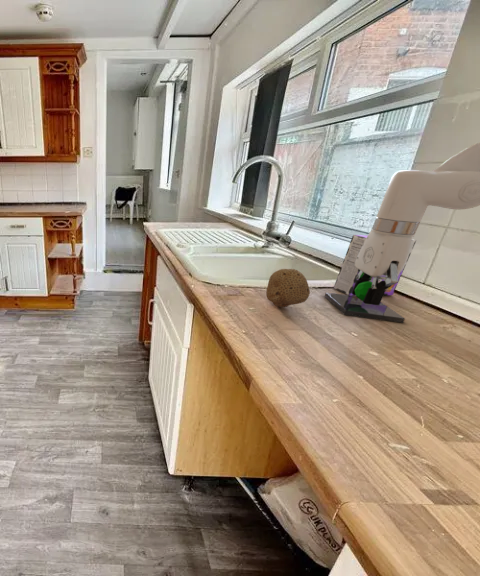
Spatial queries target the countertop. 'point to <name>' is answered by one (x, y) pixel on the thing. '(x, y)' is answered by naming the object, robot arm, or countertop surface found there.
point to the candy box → (350, 271)
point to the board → (363, 308)
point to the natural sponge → (287, 288)
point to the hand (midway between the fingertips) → (364, 298)
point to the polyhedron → (362, 289)
